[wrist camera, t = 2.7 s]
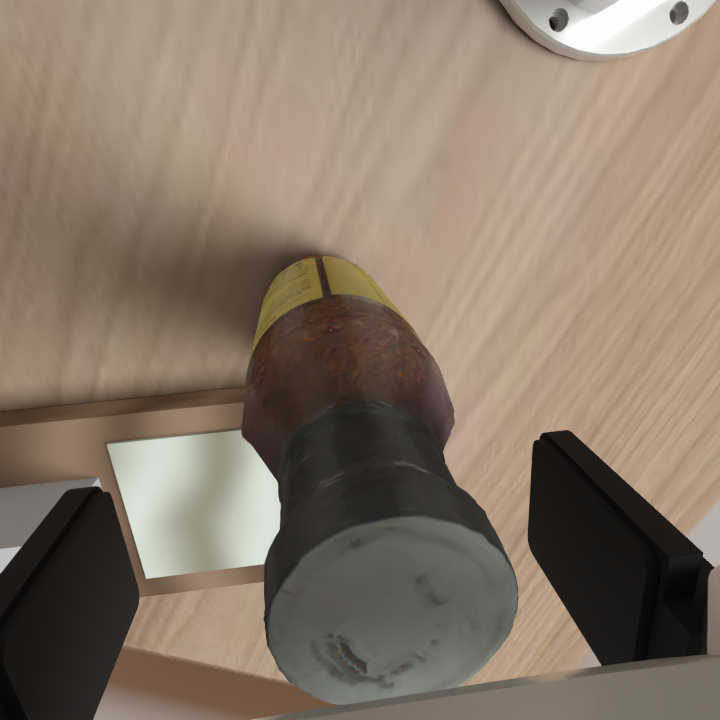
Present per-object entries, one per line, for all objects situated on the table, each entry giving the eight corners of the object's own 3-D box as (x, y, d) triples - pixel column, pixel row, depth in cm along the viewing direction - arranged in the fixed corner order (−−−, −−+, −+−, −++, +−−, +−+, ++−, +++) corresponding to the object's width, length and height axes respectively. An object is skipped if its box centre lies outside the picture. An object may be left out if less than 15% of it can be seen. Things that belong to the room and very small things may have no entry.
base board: (280, 383, 27) (277, 400, 25) (303, 552, 31) (303, 579, 29) (-18, 413, 26) (-46, 433, 24) (48, 584, 30) (29, 613, 28)
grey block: (98, 477, 26) (51, 542, 21) (121, 551, 28) (82, 626, 23) (1, 487, 26) (-69, 556, 21) (30, 562, 27) (-28, 641, 23)
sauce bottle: (271, 368, 27) (180, 796, 8) (257, 253, 24) (89, 485, 6) (389, 358, 27) (554, 744, 9) (385, 245, 25) (598, 438, 6)
